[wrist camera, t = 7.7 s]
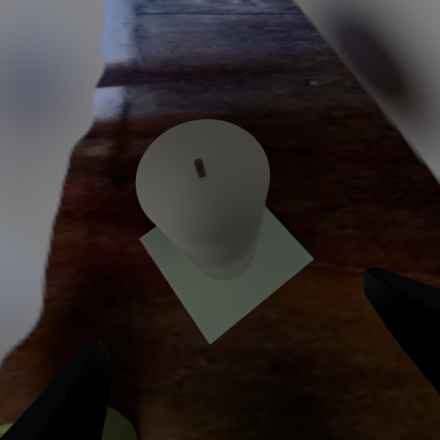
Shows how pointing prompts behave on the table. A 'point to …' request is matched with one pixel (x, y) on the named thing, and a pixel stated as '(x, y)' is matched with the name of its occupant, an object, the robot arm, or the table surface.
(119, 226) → the table surface
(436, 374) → the robot arm
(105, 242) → the table surface
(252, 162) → the candle
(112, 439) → the plant pot
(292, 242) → the stand
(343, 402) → the table surface
